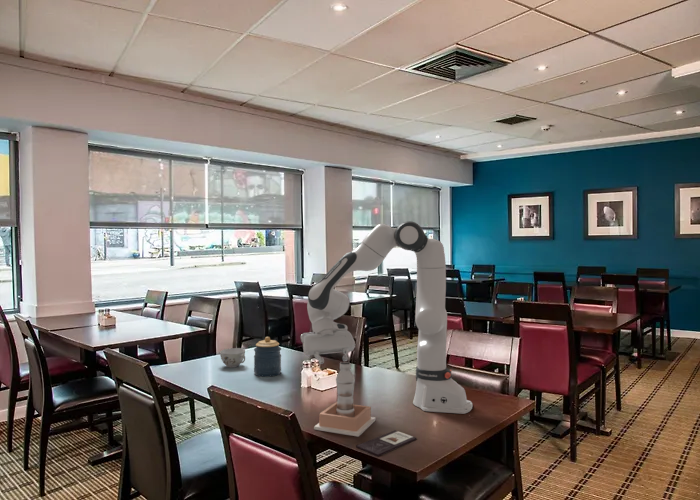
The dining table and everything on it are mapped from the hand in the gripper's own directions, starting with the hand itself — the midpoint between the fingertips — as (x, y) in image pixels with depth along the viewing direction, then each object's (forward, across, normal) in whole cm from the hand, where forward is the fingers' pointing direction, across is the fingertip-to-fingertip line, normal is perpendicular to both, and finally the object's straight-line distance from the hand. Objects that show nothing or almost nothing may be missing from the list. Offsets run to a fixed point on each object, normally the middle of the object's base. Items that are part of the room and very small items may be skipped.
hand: (334, 361), depth 183 cm
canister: (-30, -11, +55) cm, 64 cm away
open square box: (+24, -2, +2) cm, 24 cm away
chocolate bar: (+38, +4, -12) cm, 40 cm away
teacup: (-45, -24, +69) cm, 86 cm away
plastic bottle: (+23, -2, +1) cm, 23 cm away
